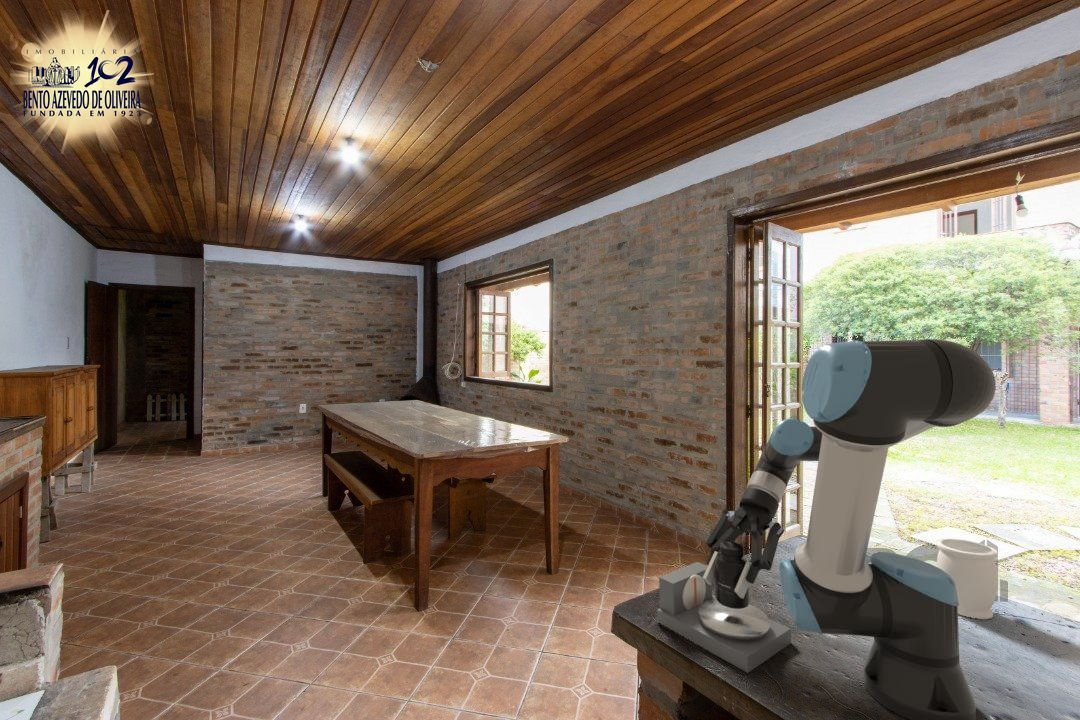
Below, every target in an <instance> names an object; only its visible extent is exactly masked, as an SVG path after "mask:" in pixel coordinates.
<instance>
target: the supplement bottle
mask: <svg viewBox="0 0 1080 720" xmlns="http://www.w3.org/2000/svg"><path fill="white" fill-rule="evenodd" d="M744 550H745V549H744V546H743V545H742V544H741V543H737V542H735V541H734V542H722V543H720V550H719V553H720V555H718V556H717V557H716V559H715V578H714V582H715V584H714V585H715V587H714V588H715V591H714V592H715V594H714V595H715V596H716V599H717V601H718V602H719V603H720V604H722V605H723V606H726V607H729V608H733V609H742V608H746V607H747V606H748V605H749V604H750V600H751V599H750V598H751V595H750V593H751V591H750V587H751V586H750V585H749V586H748V589H747V591H746V594H745V596H744V598H743V599H742V598H740V597H739V596H738V595H737V593H736V592H735V591H734V590H735V588H736V585H737V583H738V581H739V578H740V576H741V574H742V571H743V569H744V567H745V564H746V562H748V560H747V559H746V558H745V551H744Z"/></svg>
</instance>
